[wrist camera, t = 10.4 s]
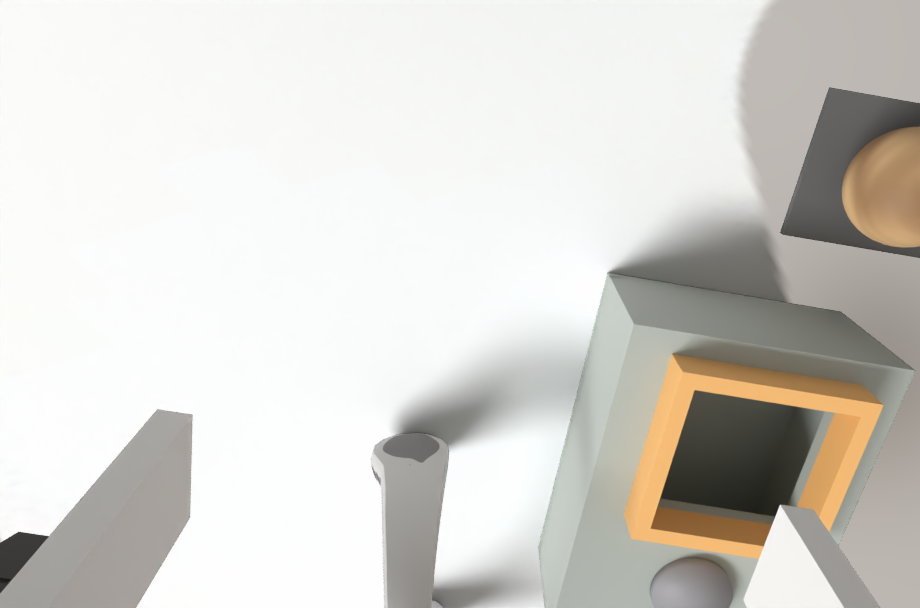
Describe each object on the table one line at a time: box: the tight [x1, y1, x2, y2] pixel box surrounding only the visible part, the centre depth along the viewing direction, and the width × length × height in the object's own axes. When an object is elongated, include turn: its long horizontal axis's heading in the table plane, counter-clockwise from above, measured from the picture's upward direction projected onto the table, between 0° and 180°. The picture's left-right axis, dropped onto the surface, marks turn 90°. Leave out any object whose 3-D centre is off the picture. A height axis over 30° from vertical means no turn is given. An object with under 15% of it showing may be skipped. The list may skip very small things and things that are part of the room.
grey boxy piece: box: [538, 273, 915, 608], centre depth 42 cm, size 23×14×10 cm, turn 171°
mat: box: [780, 88, 920, 258], centre depth 39 cm, size 8×8×1 cm
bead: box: [842, 127, 920, 248], centre depth 36 cm, size 6×6×6 cm
